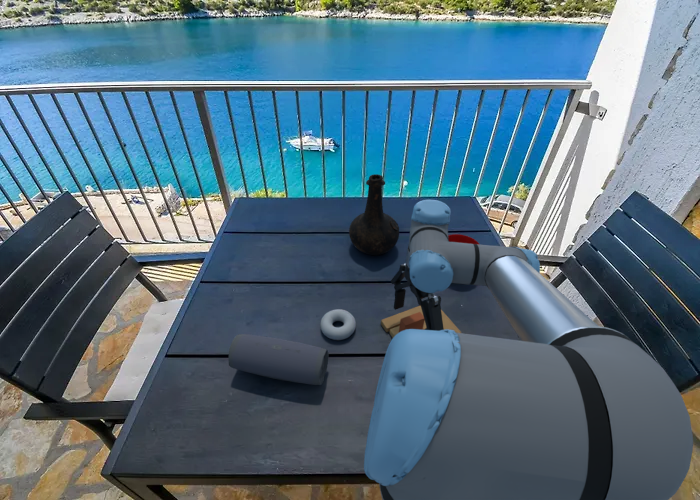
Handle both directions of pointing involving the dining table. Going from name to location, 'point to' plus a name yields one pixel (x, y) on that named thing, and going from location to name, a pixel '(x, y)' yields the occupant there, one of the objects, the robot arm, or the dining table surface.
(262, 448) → the dining table surface
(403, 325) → the open box
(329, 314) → the donut
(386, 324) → the base pad
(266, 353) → the bluetooth speaker
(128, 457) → the dining table surface
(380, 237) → the glass bottle
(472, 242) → the ceramic cup
